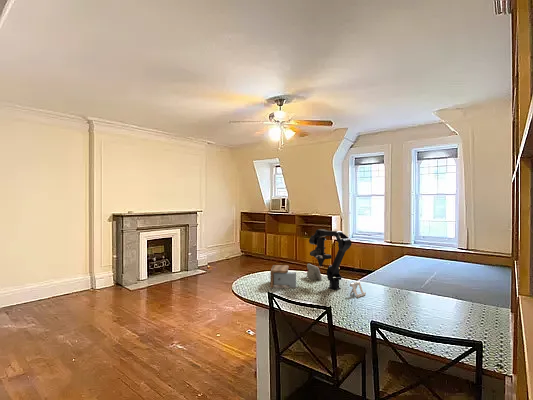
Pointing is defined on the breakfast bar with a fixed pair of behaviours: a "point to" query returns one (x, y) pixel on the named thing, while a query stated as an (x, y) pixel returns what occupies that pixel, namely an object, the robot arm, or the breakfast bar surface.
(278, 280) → the gray rectangular box
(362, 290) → the portable electronic device stand
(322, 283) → the breakfast bar surface
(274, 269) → the cubby cabinet
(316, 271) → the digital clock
